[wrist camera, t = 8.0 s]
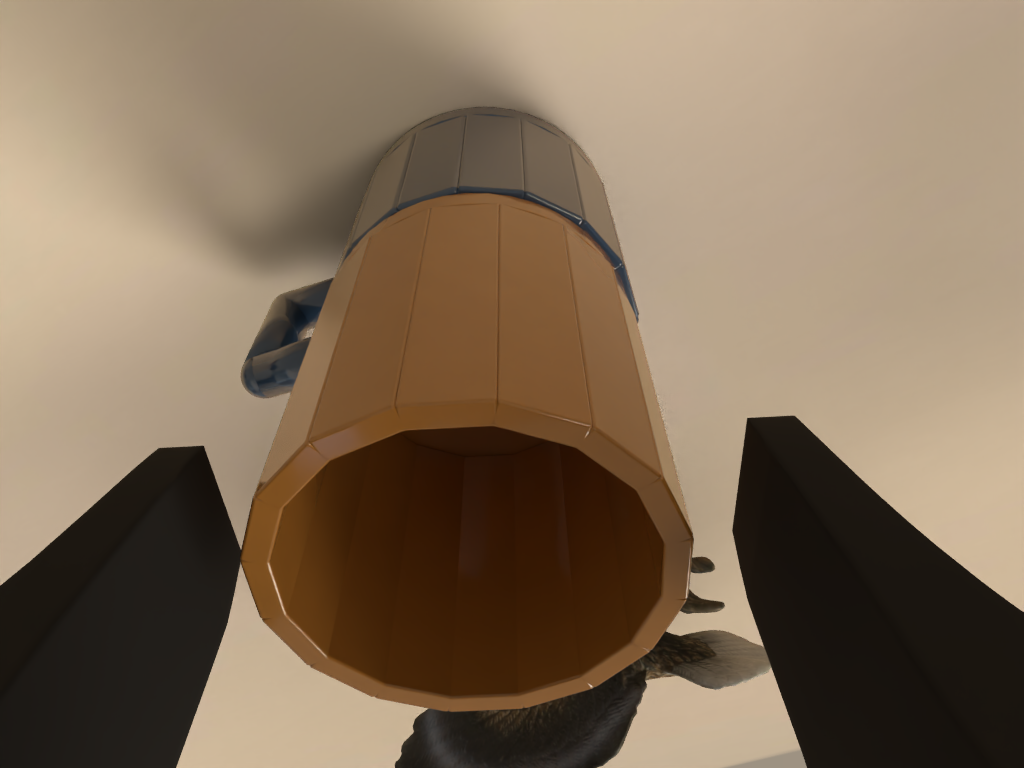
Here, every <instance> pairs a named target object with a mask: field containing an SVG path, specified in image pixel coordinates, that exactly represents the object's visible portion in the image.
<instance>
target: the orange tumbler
mask: <svg viewBox="0 0 1024 768" xmlns="http://www.w3.org/2000/svg"><path fill="white" fill-rule="evenodd" d="M693 542H694V538H693V533H692V529H691V525H690V521H689V517H688V514H687V510H686V506H685V502H684V499H683V495H682V491H681V487H680V483H679V480H678V476H677V472H676V468H675V464H674V461H673V457H672V453H671V449H670V445H669V442H668V438H667V434H666V430H665V426H664V423H663V419H662V415H661V411H660V407H659V404H658V400H657V396H656V392H655V388H654V385H653V381H652V377H651V373H650V369H649V366H648V362H647V358H646V354H645V351H644V347H643V343H642V339H641V335H640V332H639V328H638V324H637V320H636V316H635V313H634V311H633V309H632V307H631V305H630V303H629V300H628V296H627V293H626V290H625V287H624V285H623V282H622V279H621V277H620V275H619V273H618V271H617V270H616V268H615V266H614V264H613V262H612V261H611V259H610V258H609V257H608V256H607V254H606V253H605V252H604V250H603V249H602V248H601V246H600V245H599V244H598V243H597V242H596V241H595V240H594V239H593V238H592V237H591V236H590V235H589V234H588V233H587V232H585V231H584V230H583V229H581V228H580V227H579V226H577V225H576V224H575V223H573V222H572V221H571V220H569V219H567V218H566V217H564V216H562V215H560V214H559V213H557V212H555V211H553V210H551V209H549V208H546V207H544V206H541V205H539V204H536V203H534V202H531V201H527V200H524V199H520V198H516V197H512V196H506V195H498V194H491V193H463V194H455V195H447V196H441V197H437V198H433V199H430V200H426V201H422V202H420V203H417V204H415V205H412V206H410V207H407V208H405V209H402V210H401V211H399V212H397V213H395V214H394V215H392V216H390V217H388V218H386V219H385V220H383V221H382V222H381V223H379V224H378V225H377V226H376V227H374V228H373V229H372V230H370V231H369V232H368V233H367V234H366V235H365V236H364V237H363V238H362V239H361V240H360V241H359V242H358V243H357V244H356V245H355V247H354V248H353V249H352V251H351V252H350V253H349V255H348V256H347V258H346V259H345V260H344V262H343V264H342V266H341V268H340V270H339V272H338V274H337V276H336V277H335V278H334V279H333V281H332V283H331V285H330V288H329V290H328V293H327V296H326V299H325V301H324V304H323V307H322V310H321V312H320V315H319V318H318V321H317V323H316V326H315V329H314V332H313V334H312V337H311V340H310V343H309V345H308V348H307V351H306V354H305V356H304V359H303V362H302V365H301V367H300V370H299V373H298V376H297V378H296V381H295V384H294V387H293V389H292V392H291V395H290V398H289V400H288V403H287V406H286V409H285V411H284V414H283V417H282V420H281V422H280V425H279V428H278V431H277V433H276V436H275V439H274V441H273V444H272V447H271V450H270V452H269V455H268V458H267V461H266V463H265V466H264V469H263V472H262V474H261V477H260V480H259V483H258V485H257V488H256V491H255V494H254V496H253V500H252V504H251V509H250V513H249V518H248V522H247V527H246V531H245V536H244V540H243V545H242V549H241V554H240V559H241V561H240V562H241V565H242V568H243V571H244V574H245V576H246V579H247V582H248V585H249V587H250V590H251V593H252V596H253V599H254V601H255V604H256V607H257V610H258V612H259V615H260V617H261V618H262V620H263V622H264V623H265V624H266V625H267V626H268V627H269V628H270V629H271V630H272V631H273V632H274V633H275V634H276V635H277V636H278V637H279V638H280V639H281V640H282V641H283V642H284V643H286V644H287V645H288V646H289V647H290V648H291V649H292V650H293V651H294V652H295V653H296V654H297V655H298V656H299V657H300V658H301V659H302V660H303V661H304V662H305V663H306V664H307V665H310V667H311V668H313V669H315V670H317V671H319V672H322V673H324V674H326V675H328V676H330V677H332V678H334V679H336V680H338V681H340V682H342V683H344V684H346V685H348V686H351V687H353V688H355V689H357V690H359V691H361V692H363V693H365V694H367V695H369V696H371V697H375V698H378V699H383V700H388V701H393V702H398V703H403V704H409V705H414V706H419V707H424V708H429V709H435V710H440V711H445V712H446V711H448V710H449V711H450V712H462V711H485V710H508V709H522V708H523V707H524V708H529V707H532V706H535V705H539V704H542V703H546V702H549V701H552V700H556V699H559V698H562V697H566V696H569V695H573V694H576V693H579V692H583V691H586V690H590V689H592V688H593V687H597V686H598V685H600V684H601V683H603V682H604V681H606V680H608V679H609V678H611V677H612V676H614V675H615V674H617V673H618V672H620V671H621V670H623V669H625V668H626V667H628V666H629V665H631V664H632V663H634V662H635V661H637V660H638V659H640V658H641V657H643V656H645V655H646V654H648V653H649V652H650V650H652V649H653V648H654V647H655V645H656V644H657V643H658V641H659V640H660V638H661V637H662V635H663V634H664V633H665V631H666V630H667V628H668V627H669V625H670V624H671V622H672V621H673V620H674V618H675V617H676V615H677V614H678V612H679V611H680V610H681V608H682V607H683V605H684V604H685V602H686V600H687V598H688V594H689V584H690V573H691V563H692V552H693Z"/></svg>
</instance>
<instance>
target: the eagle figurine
mask: <svg viewBox="0 0 1024 768" xmlns="http://www.w3.org/2000/svg"><path fill="white" fill-rule="evenodd" d="M714 569H715V566H714V564H713V562H712V561H711V560H709V559H708V558H706V557H695V558H692V563H691V572H693V573H706V572H711V571H713V570H714ZM724 606H725V605H724V603H723V602H719V601H710V600H704V599H701V598H699V597H698V596H696V595H695V594H693V593H692V592H691V591H690V589H689V594H688V598H687V600H686V602H685V604H684V605H683V607H682V608H681V610H680V611H682V612H684V613H686V614H690V613H708V612H717V611H720V610H721V609H723V608H724ZM770 668H771V665H770V662H769V659H768V656H767V653H766V651H765V648H764V647H762V646H760V645H757V644H754V643H751V642H749V641H748V640H746V639H744V638H742V637H739V636H736V635H734V634H732V633H729V632H725V631H717V630H710V631H702V632H696V633H691V634H686V635H682V636H678V635H674V634H671V633H668V632H666V631H665V633H664V634H663V635H662V637H661V638H660V640H659V641H658V643H657V644H656V645H655V647H654V648H653V649H652V650H650V652H649V653H648V654H646V655H645V656H643V657H641V658H640V659H638V660H637V661H635V662H634V663H632V664H631V665H629V666H628V667H626V668H625V669H623V670H621V671H620V672H618V673H617V674H615V675H614V676H612V677H611V678H609V679H608V680H606V681H604V682H603V683H601V684H600V685H598V686H597V687H593V688H592V689H590V690H586V691H583V692H579V693H576V694H573V695H569V696H566V697H562V698H559V699H556V700H552V701H549V702H546V703H542V704H539V705H535V706H532V707H529V708H524V707H523V708H522V709H508V710H485V711H462V712H450V711H449V710H448V711H446V712H445V711H440V710H435V709H427V710H426V711H425V712H423V713H422V714H420V715H419V716H418V717H417V718H416V719H415V721H414V724H413V730H414V732H413V734H412V735H411V736H410V737H409V738H408V739H407V740H406V741H405V742H404V743H403V745H402V749H401V752H402V754H401V757H400V759H399V760H398V761H396V763H395V768H597V767H600V766H603V765H604V764H605V763H607V762H608V761H609V760H610V759H611V758H613V757H614V756H616V755H617V754H618V753H619V751H620V749H621V747H622V745H623V743H624V741H625V738H626V736H627V733H628V731H629V728H630V726H631V723H632V720H633V718H634V717H635V715H636V714H637V706H638V705H639V704H640V703H641V700H642V697H643V693H644V691H645V689H646V688H647V684H646V682H645V680H650V679H655V678H661V677H671V676H680V677H682V678H685V679H687V680H689V681H691V682H693V683H695V684H697V685H700V686H702V687H705V688H710V689H715V690H717V689H721V688H724V687H728V686H736V685H738V684H740V683H744V682H747V681H749V680H751V679H754V678H755V677H758V676H760V675H763V674H765V673H767V672H768V671H769V669H770Z"/></svg>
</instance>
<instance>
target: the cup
mask: <svg viewBox="0 0 1024 768" xmlns="http://www.w3.org/2000/svg"><path fill="white" fill-rule="evenodd" d="M463 193H491V194H498V195H506V196H512V197H516V198H520V199H524V200H527V201H531V202H534V203H536V204H539V205H541V206H544V207H546V208H549V209H551V210H553V211H555V212H557V213H559V214H560V215H562V216H564V217H566V218H567V219H569V220H571V221H572V222H573V223H575V224H576V225H577V226H579V227H580V228H581V229H583V230H584V231H585V232H587V233H588V234H589V235H590V236H591V237H592V238H593V239H594V240H595V241H596V242H597V243H598V244H599V245H600V246H601V248H602V249H603V250H604V252H605V253H606V254H607V256H608V257H609V258H610V259H611V261H612V262H613V264H614V266H615V268H616V270H617V271H618V273H619V275H620V277H621V279H622V282H623V285H624V287H625V290H626V293H627V296H628V300H629V303H630V305H631V307H632V309H633V311H634V313H635V316H636V320H637V324H638V320H639V319H638V315H639V313H638V309H637V305H636V302H635V298H634V294H633V291H632V287H631V283H630V280H629V276H628V272H627V269H626V265H625V261H624V257H623V254H622V250H621V246H620V243H619V239H618V235H617V232H616V228H615V224H614V221H613V217H612V214H611V210H610V206H609V203H608V199H607V195H606V192H605V189H604V185H603V183H602V181H601V179H600V177H599V175H598V173H597V171H596V169H595V167H594V166H593V164H592V163H591V161H590V160H589V159H588V157H587V156H586V154H585V153H584V152H583V151H582V150H581V149H580V148H579V147H578V146H577V145H576V144H575V142H574V141H573V140H571V139H570V138H569V137H568V136H566V135H565V134H564V133H563V132H561V131H560V130H559V129H557V128H555V127H554V126H552V125H550V124H549V123H547V122H545V121H543V120H541V119H538V118H536V117H534V116H531V115H529V114H526V113H522V112H518V111H515V110H511V109H503V108H496V107H474V108H466V109H459V110H455V111H451V112H448V113H444V114H441V115H438V116H436V117H434V118H431V119H429V120H427V121H425V122H423V123H421V124H420V125H418V126H416V127H415V128H413V129H411V130H410V131H409V132H408V133H406V134H405V135H404V136H403V137H401V138H400V139H399V140H398V141H397V142H396V143H395V144H394V145H393V146H392V147H391V148H390V149H389V150H388V152H387V153H386V154H385V156H384V157H383V159H382V160H381V161H380V163H379V164H378V166H377V168H376V170H375V172H374V174H373V176H372V178H371V180H370V183H369V186H368V189H367V191H366V193H365V196H364V198H363V201H362V203H361V205H360V208H359V210H358V213H357V216H356V219H355V222H354V224H353V227H352V230H351V233H350V235H349V238H348V241H347V244H346V246H345V249H344V252H343V255H342V257H341V260H340V263H339V266H338V268H337V271H336V274H335V277H336V276H337V274H338V272H339V270H340V268H341V266H342V264H343V262H344V260H345V259H346V258H347V256H348V255H349V253H350V252H351V251H352V249H353V248H354V247H355V245H356V244H357V243H358V242H359V241H360V240H361V239H362V238H363V237H364V236H365V235H366V234H367V233H368V232H369V231H370V230H372V229H373V228H374V227H376V226H377V225H378V224H379V223H381V222H382V221H383V220H385V219H386V218H388V217H390V216H392V215H394V214H395V213H397V212H399V211H401V210H402V209H405V208H407V207H410V206H412V205H415V204H417V203H420V202H422V201H426V200H430V199H433V198H437V197H441V196H447V195H455V194H463ZM335 277H334V278H335ZM334 278H330V279H327V280H324V281H321V282H318V283H314V284H311V285H308V286H305V287H302V288H299V289H295V290H292V291H289V292H286V293H283V294H281V295H279V296H278V297H276V299H275V300H274V301H273V302H272V304H271V307H270V309H269V311H268V313H267V315H266V317H265V319H264V322H263V324H262V326H261V328H260V330H259V332H258V334H257V336H256V339H255V341H254V343H253V345H252V347H251V349H250V351H249V353H248V356H247V358H246V360H245V362H244V364H243V366H242V369H241V381H242V384H243V386H244V388H245V389H246V390H247V391H248V392H249V393H250V394H251V395H253V396H255V397H258V398H272V397H276V396H279V395H282V394H286V393H289V392H292V389H293V387H294V384H295V381H296V378H297V376H298V373H299V370H300V367H301V365H302V362H303V359H304V356H305V354H306V351H307V348H308V345H309V343H310V340H311V337H310V338H306V339H304V338H305V336H306V333H307V330H308V329H311V328H314V327H315V326H316V323H317V321H318V318H319V315H320V312H321V310H322V307H323V304H324V301H325V299H326V296H327V293H328V290H329V288H330V285H331V283H332V281H333V279H334Z"/></svg>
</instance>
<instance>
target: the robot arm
mask: <svg viewBox="0 0 1024 768" xmlns="http://www.w3.org/2000/svg"><path fill="white" fill-rule="evenodd" d="M732 531H733V536H734V540H735V545H736V550H737V555H738V559H739V564H740V569H741V573H742V577H743V582H744V586H745V590H746V595H747V599H748V602H749V605H750V608H751V611H752V614H753V617H754V619H755V622H756V625H757V628H758V631H759V634H760V636H761V639H762V642H763V645H764V648H765V651H766V653H767V656H768V659H769V662H770V665H771V667H772V670H773V673H774V676H775V678H776V681H777V684H778V687H779V690H780V692H781V695H782V698H783V701H784V703H785V706H786V709H787V712H788V715H789V717H790V720H791V723H792V726H793V728H794V731H795V734H796V737H797V740H798V742H799V745H800V748H801V751H802V753H803V756H804V759H805V763H806V766H807V768H1024V612H1022V611H1021V610H1020V609H1018V608H1017V607H1015V606H1014V605H1012V604H1011V603H1010V602H1008V601H1007V600H1006V599H1004V598H1003V597H1002V596H1000V595H999V594H997V593H996V592H995V591H993V590H992V589H991V588H989V587H988V586H987V585H985V584H984V583H983V582H981V581H980V580H979V579H978V578H976V577H975V576H974V575H973V574H971V573H970V572H969V571H968V570H966V569H965V568H964V567H963V566H961V565H960V564H959V563H958V562H956V561H955V560H954V559H953V558H951V557H950V556H949V555H948V554H946V553H945V552H944V551H942V550H941V549H940V548H939V547H938V546H936V545H935V544H934V543H933V542H932V541H930V540H929V539H928V538H927V537H926V536H924V535H923V534H922V533H921V532H920V531H918V530H917V529H916V528H915V527H914V526H913V525H911V524H910V523H909V522H908V521H907V520H906V519H905V518H904V517H902V516H901V515H900V514H899V513H898V512H897V511H896V510H895V509H893V508H892V507H891V506H890V505H889V504H888V503H887V502H886V501H884V500H883V499H882V498H881V497H880V496H879V495H878V494H877V493H876V492H875V491H873V490H872V489H871V488H870V487H869V486H868V485H867V484H866V483H865V482H864V481H863V480H862V479H861V478H860V477H858V476H857V475H856V474H855V473H854V472H853V471H852V470H851V469H850V468H849V467H848V466H847V465H846V464H845V463H844V462H843V461H842V460H840V459H839V458H838V457H837V456H836V455H835V454H834V453H833V452H832V451H831V450H830V449H829V448H828V447H827V446H826V445H825V444H824V443H823V442H822V441H821V440H820V439H819V438H817V437H816V436H815V435H814V434H813V433H812V432H811V431H810V430H809V429H808V428H807V427H806V426H805V425H804V424H803V423H802V422H801V421H800V420H799V419H797V418H796V417H795V416H779V417H759V418H747V424H746V432H745V439H744V447H743V455H742V462H741V470H740V477H739V485H738V492H737V500H736V507H735V515H734V522H733V530H732ZM240 554H241V549H240V547H239V544H238V541H237V538H236V535H235V533H234V530H233V527H232V524H231V521H230V518H229V516H228V513H227V510H226V507H225V504H224V502H223V499H222V496H221V493H220V490H219V488H218V485H217V482H216V479H215V476H214V473H213V471H212V468H211V465H210V462H209V459H208V457H207V454H206V451H205V448H204V446H191V447H172V448H158V449H157V450H156V451H155V452H154V453H152V454H151V455H150V456H149V457H147V458H146V459H145V460H144V461H143V462H141V463H140V464H139V465H138V466H137V467H136V468H135V469H133V470H132V471H131V472H130V473H129V474H128V475H127V476H125V477H124V478H123V479H122V480H121V481H120V482H119V483H118V484H117V485H115V486H114V487H113V488H112V489H111V490H110V491H109V492H108V493H107V494H105V495H104V496H103V497H102V498H101V499H100V500H99V501H98V502H97V503H95V504H94V505H93V506H92V507H91V508H90V509H89V510H88V511H87V512H86V513H84V514H83V515H82V516H81V517H80V518H79V519H78V520H76V521H75V522H74V523H73V524H72V525H71V526H70V527H69V528H67V529H66V530H65V531H64V532H63V533H62V534H61V535H60V536H58V537H57V538H56V539H55V540H54V541H53V542H52V543H50V544H49V545H48V546H47V547H46V548H45V549H44V550H43V551H41V552H40V553H39V554H38V555H37V556H36V557H35V558H33V559H32V560H31V561H30V562H29V563H28V564H26V565H25V566H24V567H23V568H21V569H20V570H19V571H18V572H17V573H15V574H14V575H13V576H12V577H10V578H9V579H8V580H7V581H6V582H4V583H3V584H2V585H1V586H0V768H176V766H177V763H178V761H179V758H180V755H181V752H182V750H183V747H184V744H185V741H186V739H187V736H188V733H189V730H190V727H191V725H192V722H193V719H194V716H195V714H196V711H197V708H198V705H199V703H200V700H201V697H202V694H203V691H204V689H205V686H206V683H207V680H208V678H209V675H210V672H211V669H212V666H213V663H214V660H215V658H216V655H217V652H218V649H219V646H220V643H221V641H222V638H223V635H224V632H225V629H226V626H227V623H228V618H229V614H230V610H231V605H232V601H233V597H234V592H235V587H236V582H237V577H238V572H239V567H240V561H241V559H240Z"/></svg>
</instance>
